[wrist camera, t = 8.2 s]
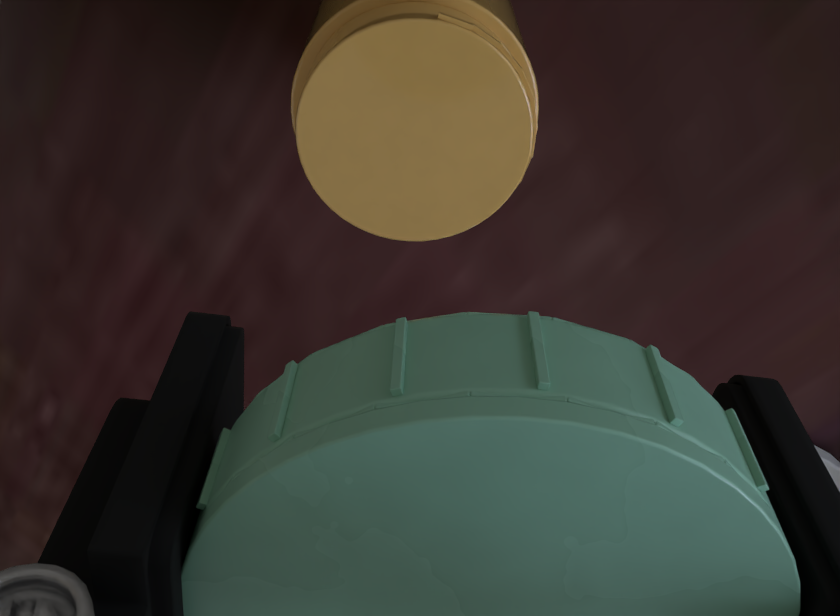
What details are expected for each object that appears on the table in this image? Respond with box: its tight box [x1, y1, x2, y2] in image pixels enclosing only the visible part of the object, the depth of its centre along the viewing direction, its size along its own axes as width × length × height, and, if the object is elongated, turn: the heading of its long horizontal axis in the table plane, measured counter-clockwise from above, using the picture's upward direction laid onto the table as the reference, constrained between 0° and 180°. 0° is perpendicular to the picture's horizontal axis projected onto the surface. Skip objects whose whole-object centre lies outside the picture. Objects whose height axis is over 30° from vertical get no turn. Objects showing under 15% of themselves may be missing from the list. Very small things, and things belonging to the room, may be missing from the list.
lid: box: [181, 311, 800, 616], centre depth 9 cm, size 7×7×2 cm
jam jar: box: [291, 0, 539, 241], centre depth 23 cm, size 6×6×10 cm
